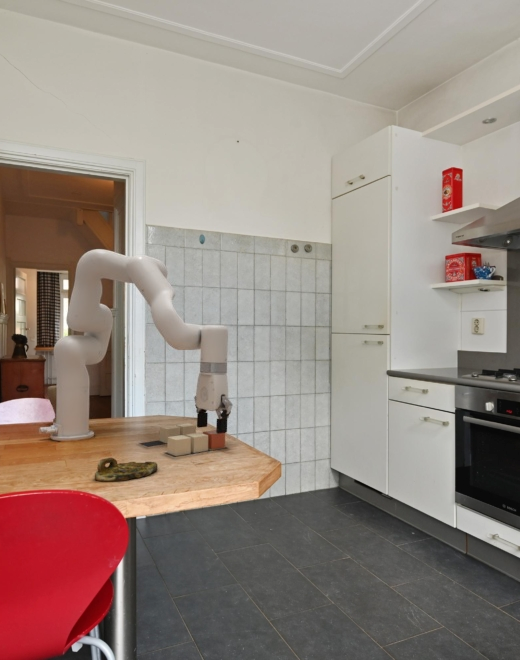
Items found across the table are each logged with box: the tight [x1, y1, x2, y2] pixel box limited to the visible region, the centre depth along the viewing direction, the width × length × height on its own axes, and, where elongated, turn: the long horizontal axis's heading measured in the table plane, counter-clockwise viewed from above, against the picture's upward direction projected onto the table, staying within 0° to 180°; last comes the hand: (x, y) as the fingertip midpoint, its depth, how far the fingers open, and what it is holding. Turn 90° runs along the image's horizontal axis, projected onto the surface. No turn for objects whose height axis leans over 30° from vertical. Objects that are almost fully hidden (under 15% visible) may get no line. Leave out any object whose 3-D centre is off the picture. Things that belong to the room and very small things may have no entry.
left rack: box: [138, 422, 197, 448], centre depth 142 cm, size 17×6×5 cm, turn 130°
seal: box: [94, 457, 158, 482], centre depth 108 cm, size 9×5×15 cm
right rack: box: [164, 432, 228, 458], centre depth 131 cm, size 17×6×5 cm, turn 130°
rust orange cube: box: [202, 429, 226, 450], centre depth 134 cm, size 4×4×4 cm
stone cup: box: [47, 384, 57, 423], centre depth 169 cm, size 15×12×15 cm
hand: (211, 429), depth 134 cm, fingers open, 9 cm apart
